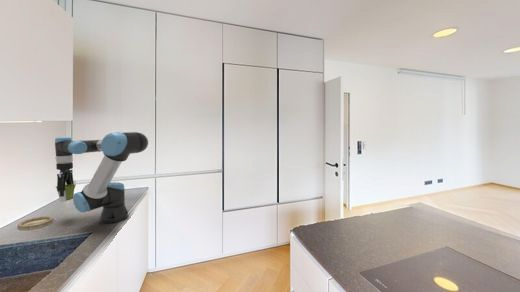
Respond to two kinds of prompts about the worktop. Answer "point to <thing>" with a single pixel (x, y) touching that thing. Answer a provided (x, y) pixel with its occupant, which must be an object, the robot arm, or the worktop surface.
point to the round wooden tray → (35, 223)
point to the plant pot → (69, 191)
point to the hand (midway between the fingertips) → (66, 199)
